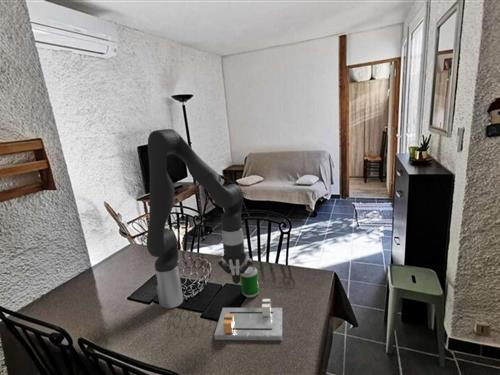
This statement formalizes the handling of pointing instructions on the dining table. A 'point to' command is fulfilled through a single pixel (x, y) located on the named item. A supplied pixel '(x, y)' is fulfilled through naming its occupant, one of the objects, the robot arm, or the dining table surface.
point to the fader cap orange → (228, 323)
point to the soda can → (250, 282)
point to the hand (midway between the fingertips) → (236, 282)
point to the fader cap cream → (266, 307)
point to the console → (251, 324)
